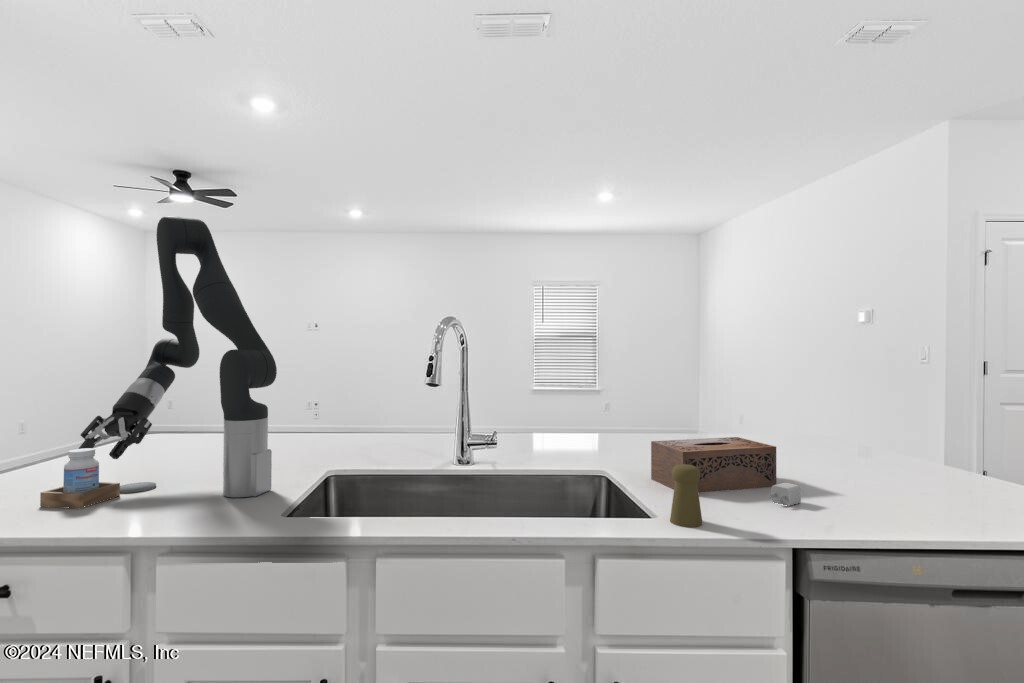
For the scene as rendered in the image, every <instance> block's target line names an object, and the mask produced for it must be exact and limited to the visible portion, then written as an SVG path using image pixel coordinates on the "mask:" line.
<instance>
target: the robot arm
mask: <svg viewBox="0 0 1024 683" xmlns="http://www.w3.org/2000/svg"><path fill="white" fill-rule="evenodd" d="M156 246H157V247H156V248H157V255H158V256H157V257H158V263H159V264H158V266H159V271H160V273H159V274H160V279H161V285H162V286H161V288H162V324H161V325H162V329H163V330H164V331H166V332H168V333H170V334H172V335H174V336H175V338H176V339H175V338H170V337H169V338H168V337H166V338H162V339H160V340H158V341H157V342H156V343H155V345H154V347H153V348H152V352H151V354H150V357H149V360H148V361H147V364H146V366H145V368H144V369H143V371H141V373H140V374H139V376H138V377H137V378H136V379H135V380H134V382H132V383H131V384H130V385H129V386H128V388H127V389H126V390H125V391H124V392H123V393H122V395H121V396H120V397H119V398H118V400H117V401H116V402H115V404H113V405H112V410H111V414H110V415H109V416H108V417H107V418H105V417H102V416H101V415H97V416H95V418H94V419H92V421H90V423H89V424H88V426H86V428H85V429H83V431H82V432H81V433H80V437H82V439H84V441H83V442H82V444H81V445H80V446H79V447H78V448H77V449H83V448H94V447H96V444H97V443H99V442H100V441H101V442H102V441H103V440H107V439H109V438H111V437H118V438H120V440H118V441H117V443H116V444H115V445H114V447H113V448H111V451H109V453H108V454H109V456H110V457H111V458H112V459H113V460H118V459H119V458H120V457H121V456H123V455H124V453H125V451H126V450H127V449H128V447H131V446H132V445H133V444H135V445H140V444H141V442H143V439H144V438H145V436H146V435H147V433H148V431H149V430H150V429H151V427H152V426H153V422H151V420H149V419H148V418H149V417H150V415H151V414H152V413H153V412H154V410H155V408H157V406H158V404H160V402H161V401H162V399H163V396H164V394H165V393H166V392H167V391H168V389H169V388H170V386H171V385H172V384H173V382H174V381H175V379H176V373H175V372H174V370H173V369H172V368H170V367H169V366H172V367H178V368H185V369H189V368H192V367H193V366H195V365H196V364H197V362H198V360H199V358H200V345H199V342H198V338H197V335H196V331H195V326H194V320H195V319H194V316H195V304H196V305H197V308H198V310H199V312H200V314H201V316H202V317H203V318H204V320H205V321H206V322H207V323H208V324H210V326H212V328H214V329H216V330H217V331H218V332H220V333H221V334H222V335H223V336H224V337H226V338H227V339H228V340H229V341H230V342H232V344H233V345H234V346H235V347H236V349H229V350H227V351H226V352H225V353H223V356H222V358H221V360H220V362H219V363H220V364H219V389H220V390H219V392H220V405H221V409H222V412H223V464H222V466H223V467H222V468H223V472H222V474H223V475H222V477H223V481H222V483H223V488H222V490H223V491H222V492H223V493H222V494H223V496H224V497H227V498H246V497H257V496H259V495H262V494H264V493H266V492H268V491H271V490H272V467H273V466H272V465H273V464H272V462H273V461H272V452H273V451H272V449H270V448H269V445H268V442H269V438H268V437H269V434H268V433H269V430H268V429H269V408H268V406H267V405H266V404H264V403H261V402H257V401H255V400H254V399H253V398H252V397H251V394H250V393H251V392H250V389H261V388H266V387H269V386H271V385H272V384H273V383H274V382H275V381H276V378H277V375H278V374H277V373H278V372H277V371H278V369H277V364H276V360H275V359H274V356H273V354H272V353H271V351H270V349H269V347H268V346H267V345H266V343H265V341H264V340H263V339H262V337H261V336H260V334H259V332H258V331H257V329H256V327H255V326H254V325H253V322H252V320H251V318H250V316H249V315H248V313H247V311H246V309H245V307H244V305H243V302H242V300H241V298H240V296H239V294H238V292H237V290H236V288H235V286H234V284H233V283H232V280H231V279H230V277H229V275H228V273H227V271H226V269H225V267H224V265H223V262H222V260H221V257H220V255H219V252H218V249H217V247H216V244H215V241H214V239H213V235H212V234H211V231H210V229H209V227H208V225H207V224H206V223H205V222H204V221H203V220H201V219H198V218H194V217H184V216H182V217H181V216H171V215H169V216H168V215H165V216H162V217H161V218H160V219H159V221H158V222H157V225H156ZM177 254H178V255H193V256H194V257H196V258H197V260H198V262H199V265H200V267H199V271H198V274H197V275H196V278H195V281H194V283H193V287H192V293H191V290H190V289H189V287H188V285H187V284H186V282H185V280H184V279H183V278H182V275H181V273H180V272H179V269H178V266H177ZM102 430H104V432H105V433H104V432H103V431H102ZM95 437H96V438H95Z"/></svg>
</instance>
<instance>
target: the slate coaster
mask: <svg viewBox="0 0 1024 683" xmlns="http://www.w3.org/2000/svg"><path fill="white" fill-rule="evenodd" d="M154 487H155V488H157V483H156V482H151V481H141V482H132V483H126V484H122V485H121V484H120V494H133V493H132V492H136V493H141V492H140V491H142V492H146V491H145V490H147V491H149V489H151V490H153V489H155V488H154ZM152 488H153V489H152Z"/></svg>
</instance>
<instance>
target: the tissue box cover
mask: <svg viewBox="0 0 1024 683" xmlns="http://www.w3.org/2000/svg"><path fill="white" fill-rule="evenodd" d="M650 455H651V456H650V466H651V467H650V473H651V474H650V476H651V477H650V480H652V481H654V482H657V483H659V484H661V485H662V486H665V487H667V488H669V489H670V490H673V491H674V487H675V481H674V479H673V477H672V471H673V468H674V467H675V466H676V465H682V464H687V465H692V466H695V467H697V468H698V469H699V471H700V479H699V482H698V483H697V486H698V494H700V493H701V494H702V493H713V492H714V493H715V492H725V491H727V492H728V491H739V490H750V489H753V490H755V489H765V488H772V486H773V485H777V446H774V445H771V444H767V443H764V442H763V443H762V442H759V441H755V440H751V439H746V438H742V437H739V436H734V437H732V436H731V437H730V436H729V437H711V438H710V437H709V438H690V439H672V440H671V439H670V440H668V439H667V440H651V441H650Z"/></svg>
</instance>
